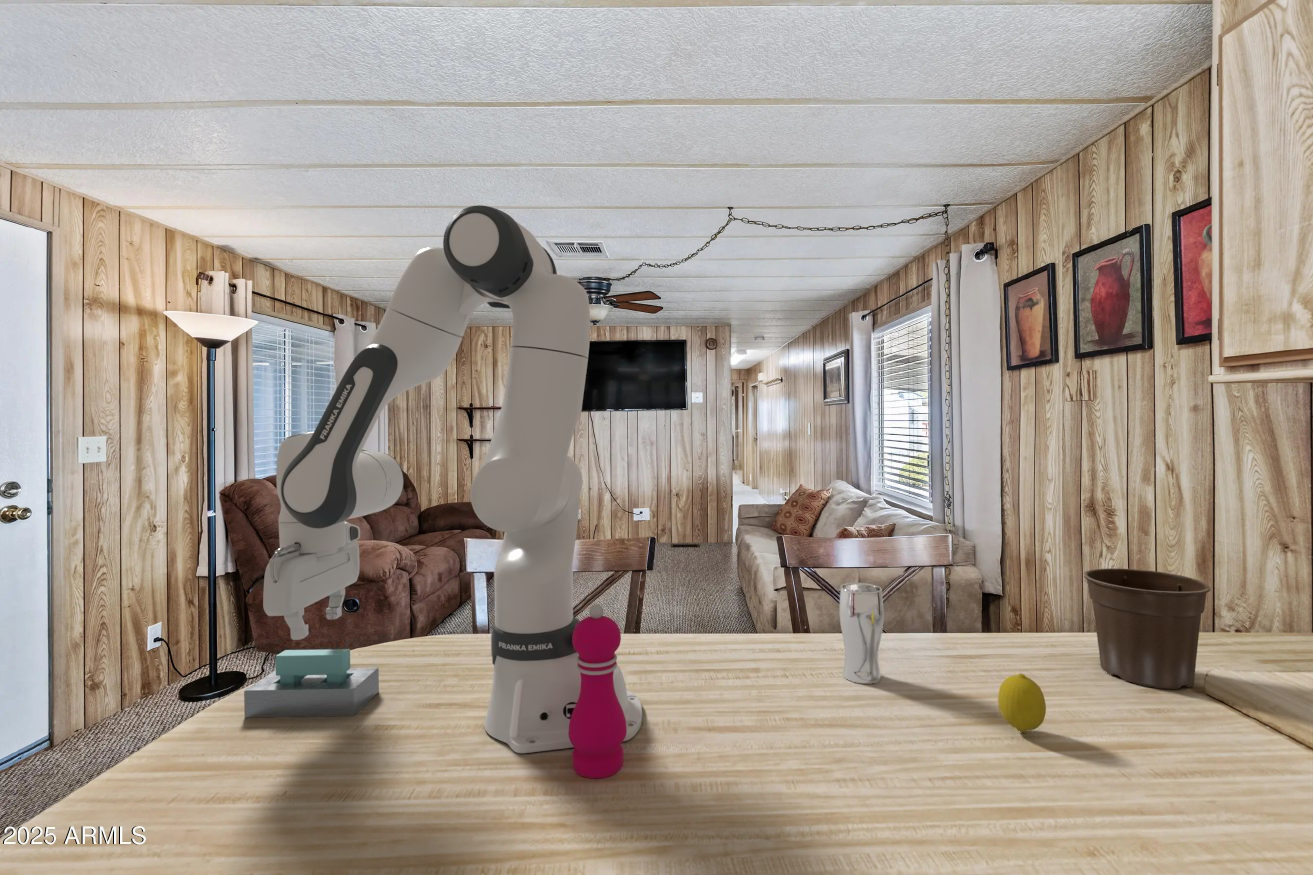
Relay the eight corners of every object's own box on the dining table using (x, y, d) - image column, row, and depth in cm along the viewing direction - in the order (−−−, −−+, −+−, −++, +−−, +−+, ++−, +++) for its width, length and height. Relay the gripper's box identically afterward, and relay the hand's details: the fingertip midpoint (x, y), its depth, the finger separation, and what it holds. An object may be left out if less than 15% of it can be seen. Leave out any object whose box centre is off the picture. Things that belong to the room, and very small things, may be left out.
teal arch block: (350, 700, 93) (350, 649, 93) (342, 707, 90) (342, 654, 90) (286, 701, 93) (285, 650, 93) (276, 708, 90) (275, 655, 90)
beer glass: (887, 673, 101) (887, 585, 101) (878, 688, 95) (878, 595, 95) (846, 665, 105) (845, 580, 105) (834, 679, 99) (834, 589, 99)
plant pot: (1099, 686, 95) (1099, 585, 95) (1073, 651, 110) (1072, 564, 110) (1231, 703, 89) (1231, 595, 89) (1184, 664, 104) (1184, 571, 104)
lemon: (1042, 727, 82) (1042, 669, 82) (1049, 746, 77) (1049, 685, 77) (996, 719, 85) (996, 663, 85) (1000, 737, 80) (1000, 678, 80)
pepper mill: (618, 784, 70) (616, 614, 70) (560, 777, 71) (558, 611, 71) (633, 751, 77) (631, 597, 77) (579, 746, 79) (578, 595, 78)
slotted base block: (378, 691, 96) (378, 667, 96) (354, 715, 88) (353, 688, 88) (278, 693, 96) (277, 668, 95) (244, 717, 88) (244, 690, 87)
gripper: (293, 549, 81) (299, 651, 81) (365, 526, 101) (369, 607, 102) (247, 551, 81) (252, 653, 81) (327, 528, 101) (332, 609, 101)
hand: (318, 627), depth 91 cm, fingers open, 8 cm apart
